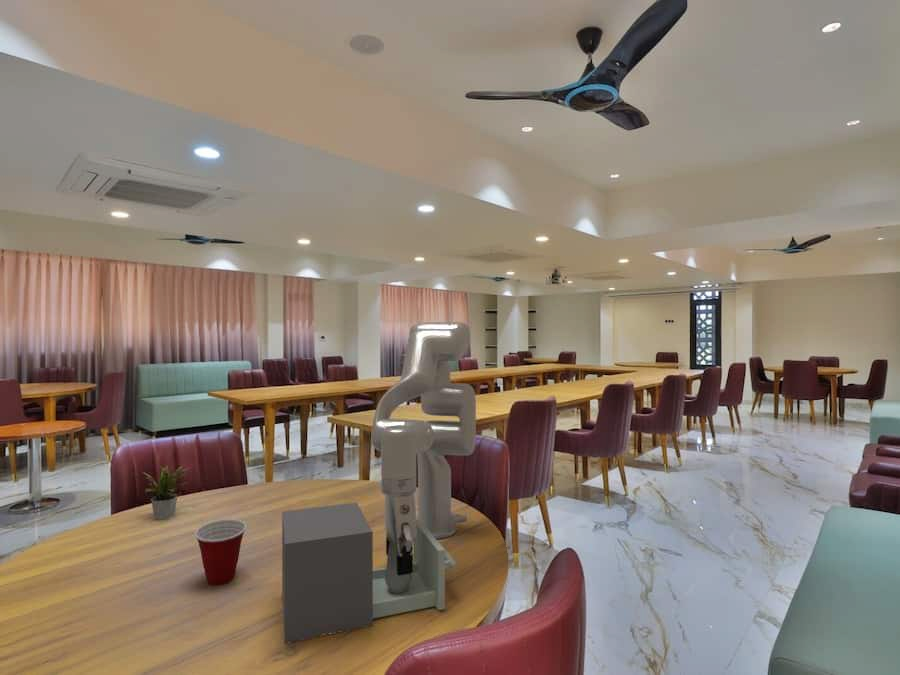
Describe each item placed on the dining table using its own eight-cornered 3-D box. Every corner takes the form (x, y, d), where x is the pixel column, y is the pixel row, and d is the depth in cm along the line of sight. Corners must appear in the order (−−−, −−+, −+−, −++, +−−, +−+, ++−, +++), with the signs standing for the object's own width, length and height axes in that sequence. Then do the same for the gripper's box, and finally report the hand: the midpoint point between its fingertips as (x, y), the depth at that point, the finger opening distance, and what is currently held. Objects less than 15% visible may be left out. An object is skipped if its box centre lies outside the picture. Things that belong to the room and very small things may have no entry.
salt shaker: (407, 596, 101) (405, 534, 101) (381, 595, 102) (379, 533, 102) (415, 582, 107) (412, 523, 106) (390, 581, 108) (387, 522, 108)
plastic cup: (194, 596, 104) (194, 540, 104) (194, 575, 113) (194, 523, 113) (248, 584, 109) (248, 531, 109) (244, 565, 118) (244, 516, 118)
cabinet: (356, 582, 110) (356, 502, 110) (372, 625, 93) (372, 531, 93) (282, 595, 104) (282, 511, 105) (284, 643, 88) (284, 543, 88)
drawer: (435, 567, 117) (435, 517, 117) (463, 605, 100) (463, 546, 100) (350, 581, 109) (350, 528, 110) (365, 625, 93) (365, 562, 93)
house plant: (203, 515, 152) (203, 463, 153) (157, 529, 141) (157, 473, 141) (178, 507, 160) (178, 457, 160) (132, 520, 148) (133, 466, 149)
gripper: (427, 493, 98) (427, 579, 97) (405, 472, 114) (405, 545, 114) (391, 498, 95) (391, 585, 95) (373, 475, 111) (373, 550, 111)
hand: (398, 563), depth 104 cm, fingers open, 9 cm apart
